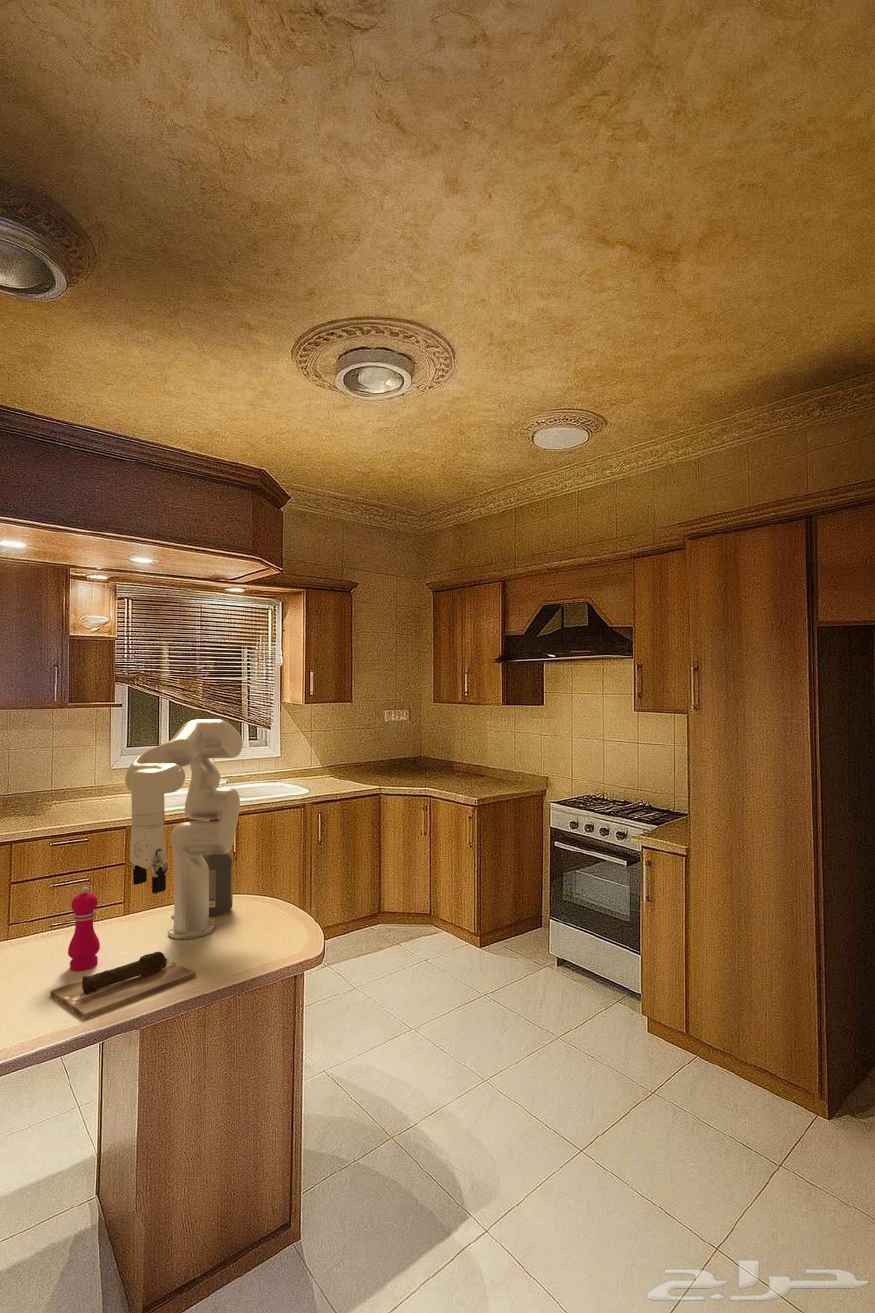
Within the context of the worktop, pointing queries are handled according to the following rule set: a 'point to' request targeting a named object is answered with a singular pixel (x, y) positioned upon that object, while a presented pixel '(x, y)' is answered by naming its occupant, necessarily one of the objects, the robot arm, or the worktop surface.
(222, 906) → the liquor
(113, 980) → the hand tool
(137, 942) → the worktop surface
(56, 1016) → the worktop surface
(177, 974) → the board
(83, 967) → the pepper mill
